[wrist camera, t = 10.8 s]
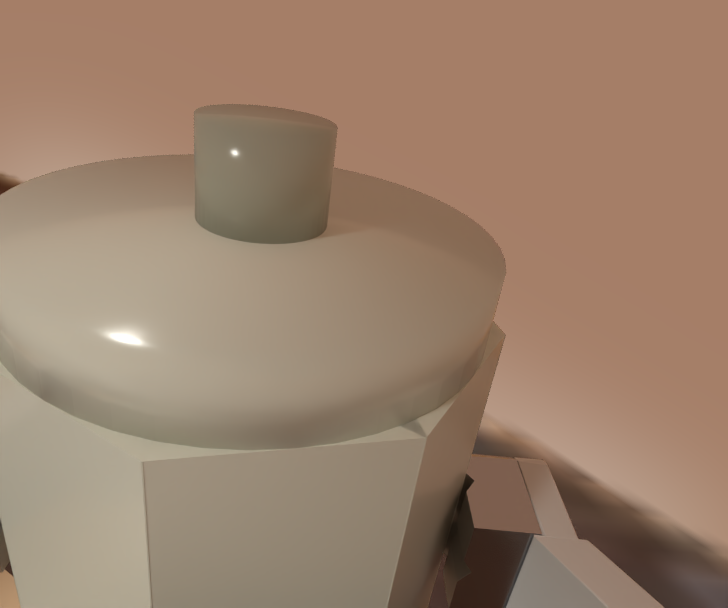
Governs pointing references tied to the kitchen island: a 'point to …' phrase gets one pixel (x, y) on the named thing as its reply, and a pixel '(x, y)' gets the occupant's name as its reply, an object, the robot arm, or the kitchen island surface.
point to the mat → (8, 591)
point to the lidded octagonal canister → (237, 375)
